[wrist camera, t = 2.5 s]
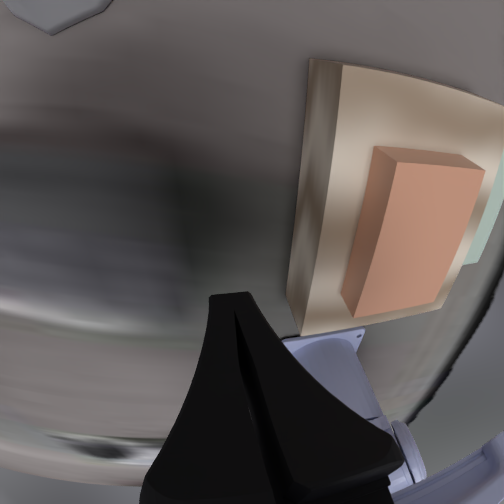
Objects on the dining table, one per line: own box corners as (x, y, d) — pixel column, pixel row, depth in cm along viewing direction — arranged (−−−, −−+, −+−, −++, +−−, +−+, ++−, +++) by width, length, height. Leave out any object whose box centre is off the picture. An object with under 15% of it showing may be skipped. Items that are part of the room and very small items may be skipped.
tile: (418, 281, 20) (433, 302, 18) (340, 293, 19) (353, 318, 17) (461, 155, 14) (485, 170, 13) (373, 145, 13) (397, 162, 12)
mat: (474, 259, 26) (477, 262, 26) (420, 267, 25) (423, 271, 25) (520, 123, 18) (524, 125, 17) (468, 105, 17) (472, 107, 16)
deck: (416, 276, 26) (440, 308, 22) (285, 294, 24) (300, 336, 20) (470, 92, 16) (512, 109, 13) (309, 58, 14) (342, 64, 11)
